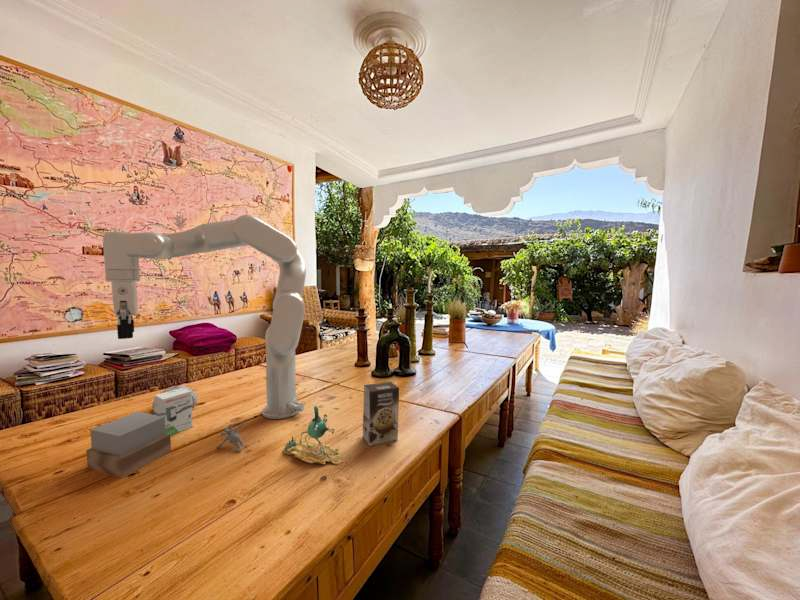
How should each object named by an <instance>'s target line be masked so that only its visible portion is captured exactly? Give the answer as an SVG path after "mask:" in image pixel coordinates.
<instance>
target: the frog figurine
mask: <svg viewBox="0 0 800 600" xmlns="http://www.w3.org/2000/svg"><path fill="white" fill-rule="evenodd" d="M313 411H314V418H312V420H311V421H310V422H309V423H308V426H307V430H305V431H301V434H300V440H299V441H297V439H294V436H292V435H291V440H288V442H287V444H285V445H284V446H285V447H284V449H282V453H283V455H289V456H294V457H295V458H297V459H299V460H301V461H302V462H303V461H304V462H306V463H309V464H322V465H326V462H327V463H332V464H333V465H340V464H341V463H343V461H344V460H343V458H341V457H340V455H339V454H340V453H339V451H337V449H335V448H334V447H333V446H332V444H331V445H330V444H325V443H324V444H323V443H322V442H321V441H320V440H319V439H321V438H322V437H323V436H324V435H325V433H326V432H327V431H328V432H330V433H331V434H334V432H335V431H336V430H335V429H334V428H331V429H330V426H328V427H327V422H328V418H327V417H328V415H327V414H323V419H322V417H320V415H319V407H318V405H314V407H313ZM304 434H307V435H306V436H305V437H304V439H305V440H304V441H302V436H303V435H304ZM308 436H309V437H308ZM307 437H308V440H310V439H315V440H316V441H307Z"/></svg>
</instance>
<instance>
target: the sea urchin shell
mask: <svg viewBox="0 0 800 600" xmlns="http://www.w3.org/2000/svg"><path fill="white" fill-rule="evenodd" d="M180 388H185V389H187V390H190V391H192V407H195V405H197V403H198V401H199V396H198V395H197V394H198V393H197V392H196V391H194V389H193V388H191V387H189V386H186V385H173V386H170V387H168V388H166V389H165V390H164V389H163V390H162V391H161V392H160V393H159V394H161V393H165V392H169V391H173V390H177V389H180ZM151 405H152V406H151V407H152V408H153V409H152V410H153V411H154V401H153V402H152V404H151Z"/></svg>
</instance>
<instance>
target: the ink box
mask: <svg viewBox="0 0 800 600" xmlns="http://www.w3.org/2000/svg"><path fill="white" fill-rule="evenodd" d="M160 393H161V392H160ZM160 393H158V394H155V395H154V396H153V402H154V410H153V415H157V416H163V417H165V434H168V435H170V436H172V435H175V434H178V433H180V432H182V431H185V430H187V429H190V428H192V427H193V424H194V423H193V406H192V391H190V390H187V389H185V388H180V389H177V390H173V391H169V392H165V393H161V394H160Z"/></svg>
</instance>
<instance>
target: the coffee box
mask: <svg viewBox="0 0 800 600" xmlns="http://www.w3.org/2000/svg"><path fill="white" fill-rule="evenodd" d="M399 402H400V387H398V386H397V385H396V384H394V383H393V382H392V381H387V382H386V381H385V382H378V383H369V384H363V413H362V415H363V417H362V418H363V419H362V437H363V439H364V440H365V442H366V443H367V445H368V446H369V447H371V446H376V445H381V444H385V443H390V441H391V442H394V441H393V440H395V441H398V440H399V438H398V437H399V434H398V433H399ZM397 439H398V440H397Z"/></svg>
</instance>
